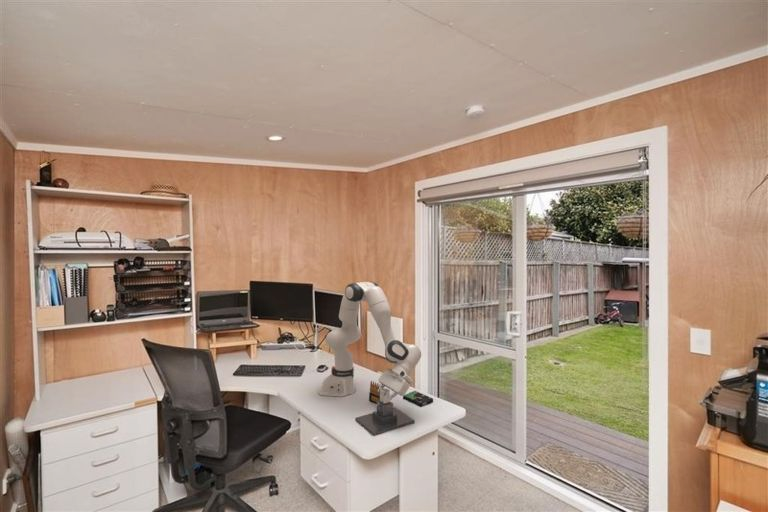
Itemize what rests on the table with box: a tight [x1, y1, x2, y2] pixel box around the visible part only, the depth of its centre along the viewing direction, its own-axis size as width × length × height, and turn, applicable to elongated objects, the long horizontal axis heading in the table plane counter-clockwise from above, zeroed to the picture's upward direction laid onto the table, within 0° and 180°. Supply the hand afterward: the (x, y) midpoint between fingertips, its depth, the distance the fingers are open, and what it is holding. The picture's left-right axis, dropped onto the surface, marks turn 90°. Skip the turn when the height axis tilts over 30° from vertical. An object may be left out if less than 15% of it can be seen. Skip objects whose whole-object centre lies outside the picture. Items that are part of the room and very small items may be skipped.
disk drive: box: [402, 390, 434, 408], centre depth 216 cm, size 10×3×15 cm
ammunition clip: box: [368, 380, 380, 405], centre depth 211 cm, size 11×2×12 cm, turn 46°
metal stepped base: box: [354, 401, 415, 437], centre depth 189 cm, size 24×18×10 cm
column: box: [380, 388, 391, 405], centre depth 189 cm, size 4×4×14 cm
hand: (383, 396), depth 189 cm, fingers open, 8 cm apart
